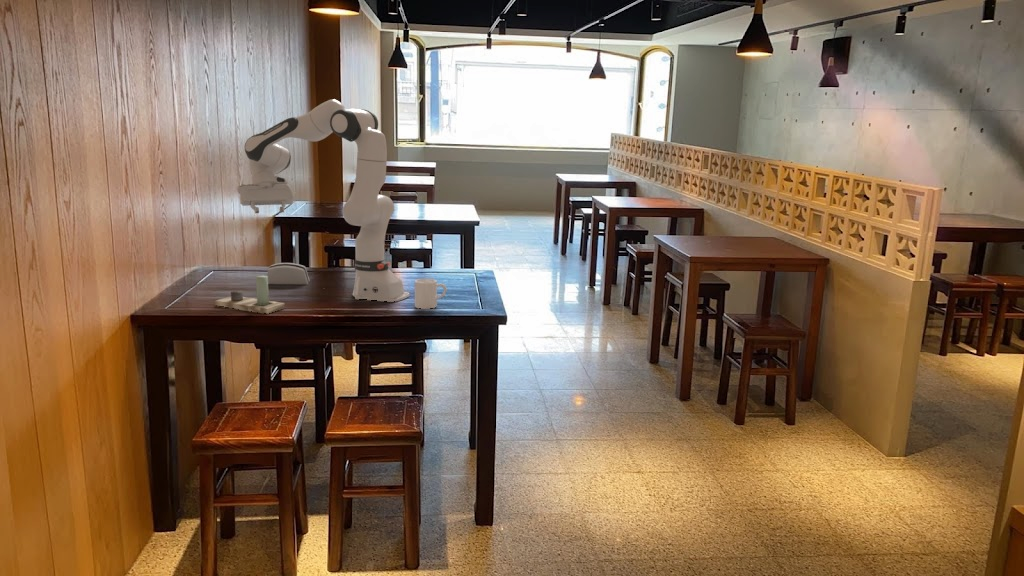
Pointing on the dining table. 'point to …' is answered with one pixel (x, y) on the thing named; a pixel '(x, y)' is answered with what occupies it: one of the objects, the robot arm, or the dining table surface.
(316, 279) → the dining table surface
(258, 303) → the peg
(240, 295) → the hole plate
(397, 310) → the dining table surface
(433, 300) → the mug
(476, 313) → the dining table surface
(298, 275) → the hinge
